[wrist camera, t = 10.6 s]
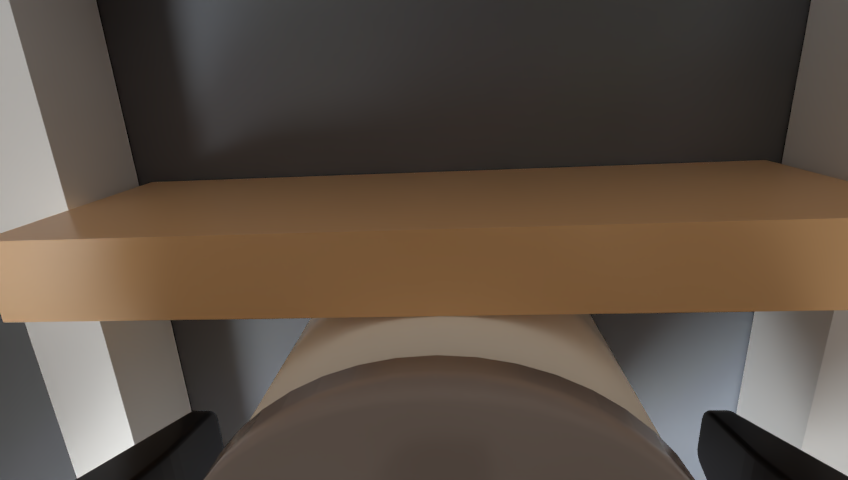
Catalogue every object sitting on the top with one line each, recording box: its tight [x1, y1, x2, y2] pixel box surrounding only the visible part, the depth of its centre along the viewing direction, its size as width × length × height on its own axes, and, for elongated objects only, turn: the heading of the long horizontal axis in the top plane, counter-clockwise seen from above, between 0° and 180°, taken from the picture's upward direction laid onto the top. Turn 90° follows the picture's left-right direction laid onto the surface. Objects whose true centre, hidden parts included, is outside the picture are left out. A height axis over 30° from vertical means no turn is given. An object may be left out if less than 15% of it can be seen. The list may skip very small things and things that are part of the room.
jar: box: [204, 314, 695, 480], centre depth 8 cm, size 7×7×6 cm
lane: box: [0, 0, 848, 478], centre depth 9 cm, size 16×22×4 cm
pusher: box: [0, 160, 848, 322], centre depth 8 cm, size 12×1×4 cm, turn 93°
